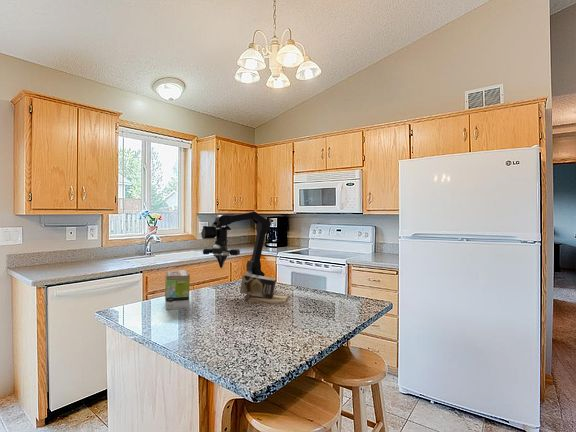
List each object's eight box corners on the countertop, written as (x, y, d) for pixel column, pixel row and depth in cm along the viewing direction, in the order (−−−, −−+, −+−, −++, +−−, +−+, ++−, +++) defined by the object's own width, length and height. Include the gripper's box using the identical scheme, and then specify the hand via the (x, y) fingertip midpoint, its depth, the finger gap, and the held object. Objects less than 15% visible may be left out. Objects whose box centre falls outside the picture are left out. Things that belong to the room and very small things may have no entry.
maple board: (253, 295, 171) (253, 293, 171) (288, 296, 168) (288, 295, 168) (247, 301, 158) (247, 300, 158) (284, 303, 155) (284, 301, 155)
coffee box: (242, 275, 161) (274, 280, 159) (245, 272, 168) (276, 278, 166) (239, 293, 162) (271, 299, 160) (243, 290, 168) (274, 296, 166)
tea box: (189, 308, 146) (190, 274, 146) (165, 310, 142) (165, 276, 142) (186, 299, 160) (187, 269, 160) (164, 301, 156) (165, 270, 156)
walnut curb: (251, 294, 172) (251, 289, 172) (254, 294, 172) (254, 289, 172) (244, 301, 158) (244, 296, 158) (247, 301, 158) (247, 296, 158)
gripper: (198, 239, 168) (198, 269, 169) (234, 240, 166) (233, 271, 166) (207, 237, 180) (206, 266, 180) (240, 238, 177) (240, 267, 177)
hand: (221, 267), depth 175 cm, fingers closed
